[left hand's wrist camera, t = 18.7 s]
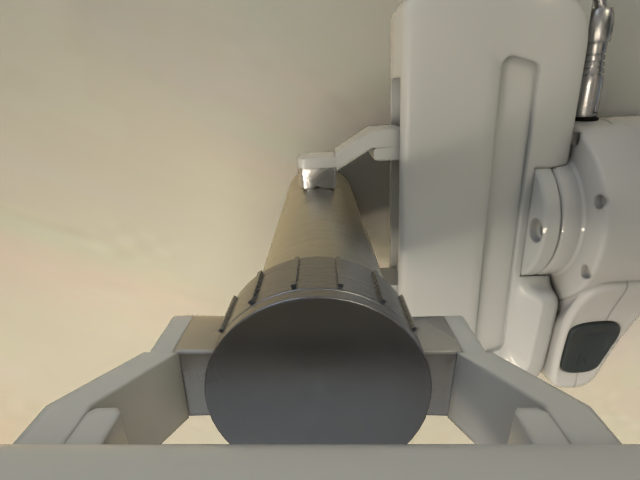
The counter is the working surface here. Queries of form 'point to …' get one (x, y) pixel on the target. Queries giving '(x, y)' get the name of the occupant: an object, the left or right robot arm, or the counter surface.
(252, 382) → the lid
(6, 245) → the counter surface
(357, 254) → the beige cylinder
